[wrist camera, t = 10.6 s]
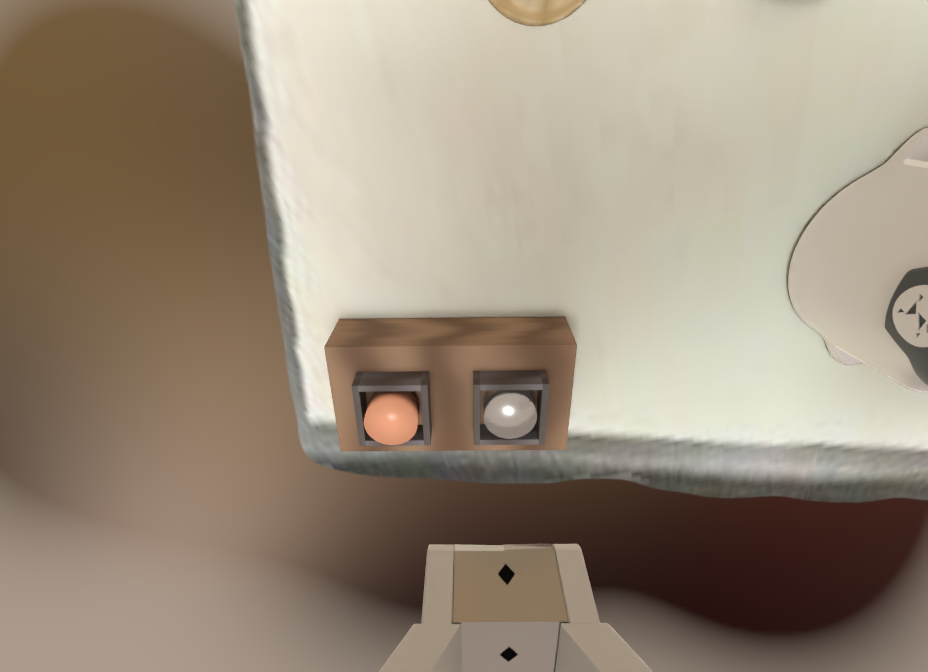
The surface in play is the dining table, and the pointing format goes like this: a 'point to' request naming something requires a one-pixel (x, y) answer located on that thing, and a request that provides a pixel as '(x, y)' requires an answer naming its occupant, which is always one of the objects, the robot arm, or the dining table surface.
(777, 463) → the dining table surface
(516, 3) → the hand bell
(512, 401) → the steel button
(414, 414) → the terracotta button
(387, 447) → the button box
